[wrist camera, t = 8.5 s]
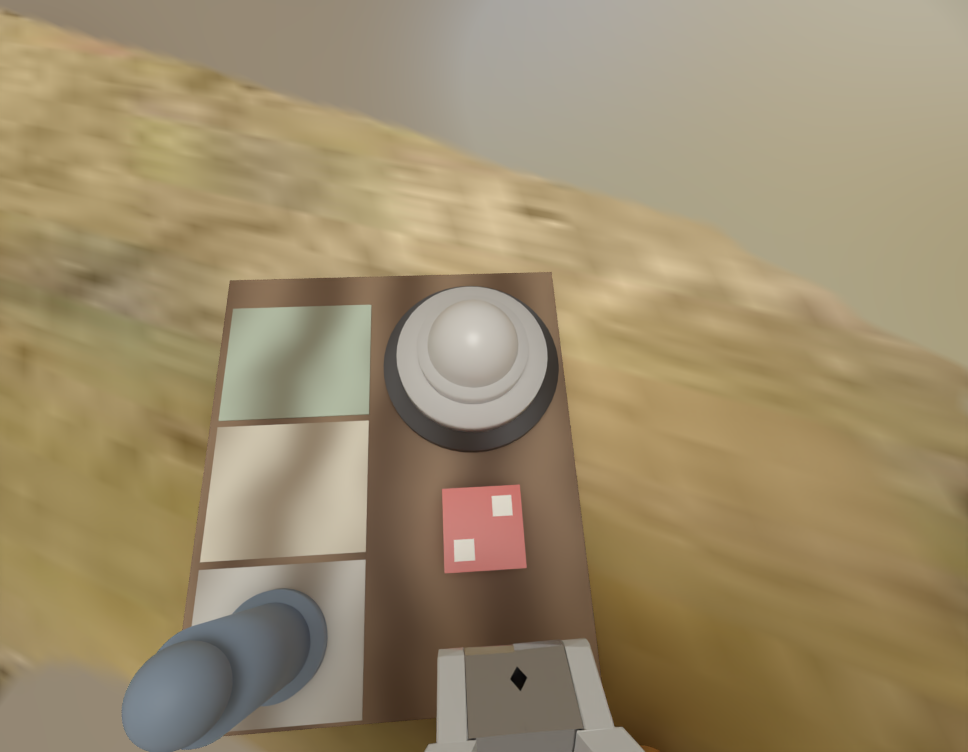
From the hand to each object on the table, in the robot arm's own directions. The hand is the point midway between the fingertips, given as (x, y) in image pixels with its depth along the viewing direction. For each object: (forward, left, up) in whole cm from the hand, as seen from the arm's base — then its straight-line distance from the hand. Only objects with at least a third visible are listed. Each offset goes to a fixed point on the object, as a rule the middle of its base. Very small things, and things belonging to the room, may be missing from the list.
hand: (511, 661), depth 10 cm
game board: (+5, -7, -19) cm, 21 cm away
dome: (0, -13, -17) cm, 21 cm away
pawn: (+11, +2, -18) cm, 21 cm away
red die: (0, -3, -18) cm, 18 cm away
